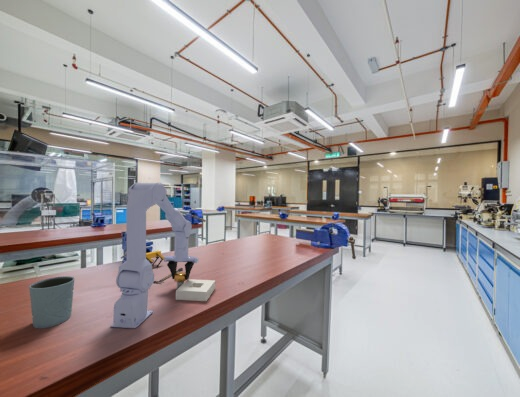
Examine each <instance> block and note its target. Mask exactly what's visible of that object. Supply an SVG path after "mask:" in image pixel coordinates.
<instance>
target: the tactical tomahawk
mask: <svg viewBox="0 0 520 397" xmlns="http://www.w3.org/2000/svg"><path fill="white" fill-rule="evenodd" d="M183 270H184V268H183V267H180V268H177V270H176V273H178V272H182V271H183ZM170 278H172V275H171V273H170V274H168V275H167V276H164V277H163V278H161V279H159V280H154V282H153V284H157V285H158V284H159V285H162V284H163V283H165V280H167V279H170Z"/></svg>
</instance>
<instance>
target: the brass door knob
mask: <svg viewBox="0 0 520 397" xmlns="http://www.w3.org/2000/svg"><path fill="white" fill-rule="evenodd" d="M185 275H186V271H180V272H178V273H175V274H174V279H173V280H174V282H176V290H177V289H178V288H179V287H180V286H181V285H182V284H184V283H185V282H186V281H187V280H186V279H185Z"/></svg>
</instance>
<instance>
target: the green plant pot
mask: <svg viewBox="0 0 520 397" xmlns="http://www.w3.org/2000/svg"><path fill="white" fill-rule="evenodd" d="M75 280H76V279H75V277H73V276H70V275H69V276H67V275H66V276H56V277H50V278H46V279H42V280H39V281H36V282H33V283H31V284H30V285H29V287H28V289H29V297H30V308H31V315H32V318H31V319H32V326H33V328H34V329H46V328H51V327H56V326H58V325H60V324H62V323H63V324H64V322H67V321H68V320H69V319H70V318H71V317H72V310H73V299H74V298H73V297H74V286H75Z"/></svg>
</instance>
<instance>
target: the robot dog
mask: <svg viewBox="0 0 520 397" xmlns="http://www.w3.org/2000/svg"><path fill="white" fill-rule="evenodd" d="M164 257H165V256H163V254H162V251H161V250H154V251H150V252H146V259H147V260H148V261H149V262H150V263H151V264H152V267H153V266H154V265H155V264H156V262H157V261H158V260H159V259H160V261H159V262H158V264H157V265H156V267H157V268H158V267H159V266H160V265H161V263H162V262H163V261H164ZM153 258H156V259H155V260H153Z"/></svg>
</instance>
